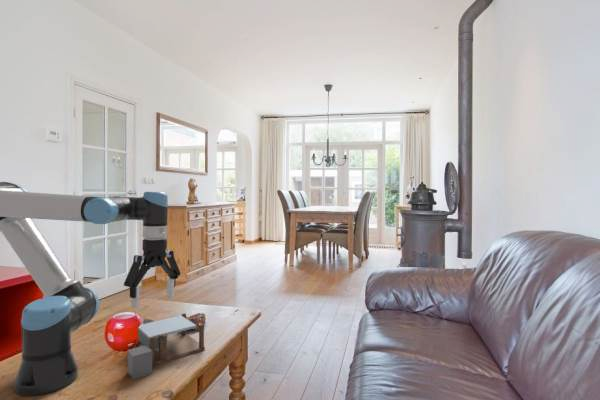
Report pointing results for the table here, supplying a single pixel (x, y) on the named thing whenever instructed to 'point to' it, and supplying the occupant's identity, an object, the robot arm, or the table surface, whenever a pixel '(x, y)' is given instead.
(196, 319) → the mineral specimen
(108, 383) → the table surface
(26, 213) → the robot arm
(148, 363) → the block
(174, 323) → the trapdoor
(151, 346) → the frame
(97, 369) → the table surface
